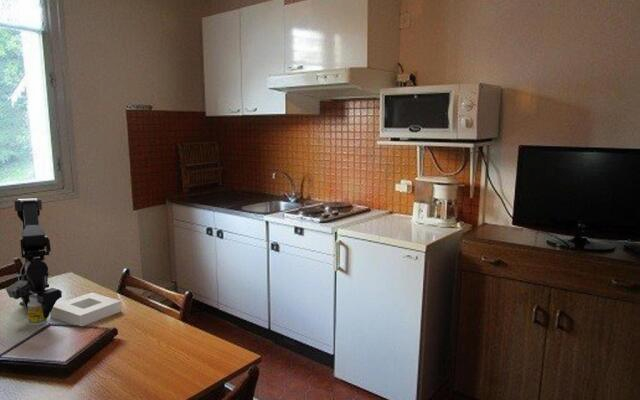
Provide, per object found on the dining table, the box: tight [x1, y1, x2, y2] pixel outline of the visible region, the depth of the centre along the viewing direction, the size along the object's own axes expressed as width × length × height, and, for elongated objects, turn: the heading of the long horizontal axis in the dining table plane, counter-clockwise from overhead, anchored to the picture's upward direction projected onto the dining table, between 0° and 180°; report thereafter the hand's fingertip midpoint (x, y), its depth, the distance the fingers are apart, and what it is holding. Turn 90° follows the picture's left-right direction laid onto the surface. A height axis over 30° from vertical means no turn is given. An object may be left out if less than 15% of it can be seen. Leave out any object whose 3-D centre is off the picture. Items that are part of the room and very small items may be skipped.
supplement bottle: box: [27, 294, 48, 326], centre depth 150 cm, size 5×5×10 cm
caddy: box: [50, 292, 122, 326], centre depth 158 cm, size 16×16×4 cm
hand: (37, 315), depth 150 cm, fingers open, 9 cm apart
